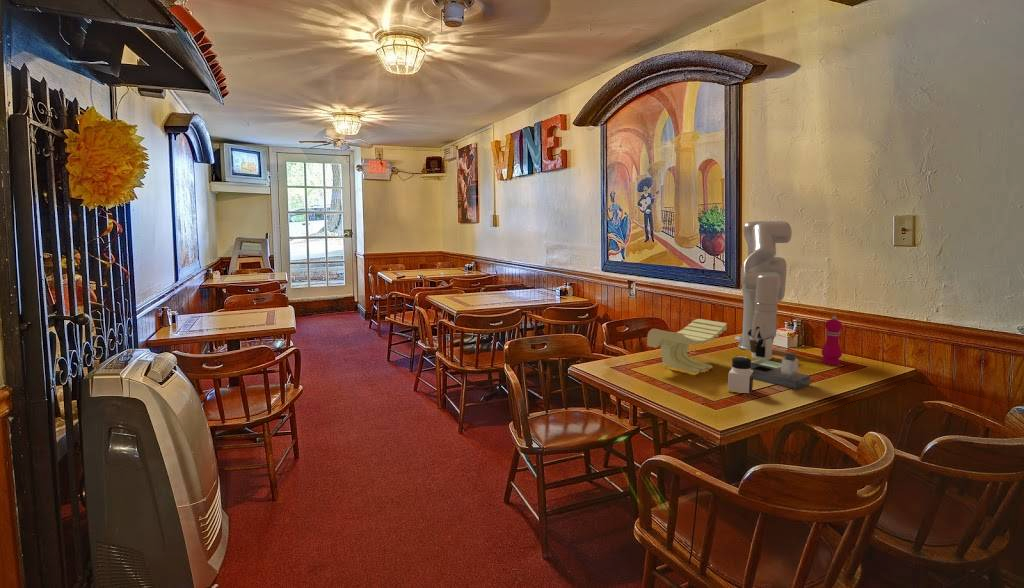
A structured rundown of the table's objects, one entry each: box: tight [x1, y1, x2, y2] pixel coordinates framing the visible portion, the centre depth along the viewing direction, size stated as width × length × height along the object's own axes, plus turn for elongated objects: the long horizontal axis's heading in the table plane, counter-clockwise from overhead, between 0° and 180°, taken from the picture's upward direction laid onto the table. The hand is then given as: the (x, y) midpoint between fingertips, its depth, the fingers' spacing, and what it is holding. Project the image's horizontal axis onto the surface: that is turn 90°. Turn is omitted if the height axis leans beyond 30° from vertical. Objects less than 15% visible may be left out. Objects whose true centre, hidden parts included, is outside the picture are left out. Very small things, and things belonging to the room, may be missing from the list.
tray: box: [751, 359, 782, 369], centre depth 220 cm, size 11×11×2 cm
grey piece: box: [751, 352, 811, 391], centre depth 204 cm, size 24×10×12 cm, turn 36°
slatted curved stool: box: [646, 318, 728, 373], centre depth 220 cm, size 30×16×18 cm, turn 127°
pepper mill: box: [821, 315, 843, 366], centre depth 224 cm, size 7×7×20 cm
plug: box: [755, 336, 774, 361], centre depth 205 cm, size 4×4×10 cm
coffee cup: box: [748, 329, 777, 360], centre depth 233 cm, size 11×11×12 cm
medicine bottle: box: [727, 356, 754, 394], centre depth 192 cm, size 7×7×12 cm
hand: (763, 355), depth 206 cm, fingers closed on plug, 4 cm apart
